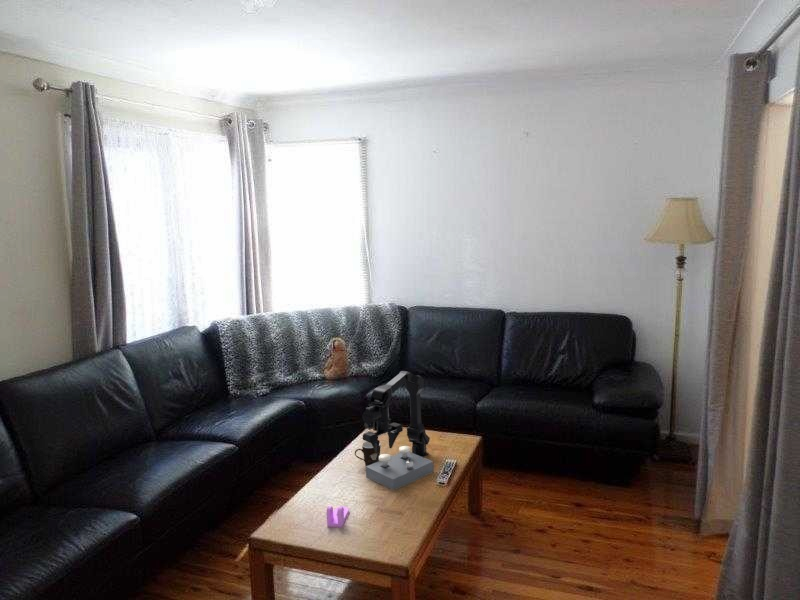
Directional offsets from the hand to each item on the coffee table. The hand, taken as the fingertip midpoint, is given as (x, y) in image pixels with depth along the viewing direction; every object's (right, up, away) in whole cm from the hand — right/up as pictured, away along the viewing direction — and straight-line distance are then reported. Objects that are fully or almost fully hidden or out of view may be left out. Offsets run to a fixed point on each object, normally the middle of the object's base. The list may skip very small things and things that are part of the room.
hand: (383, 450), depth 256 cm
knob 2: (+9, -5, +9) cm, 14 cm away
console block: (+7, -11, +3) cm, 14 cm away
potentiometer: (+11, -7, -2) cm, 14 cm away
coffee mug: (-7, -10, +15) cm, 19 cm away
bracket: (-16, -18, -31) cm, 39 cm away
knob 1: (+1, -7, +1) cm, 7 cm away
